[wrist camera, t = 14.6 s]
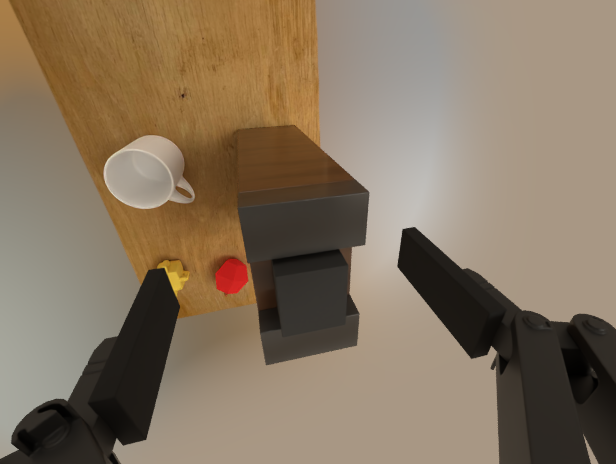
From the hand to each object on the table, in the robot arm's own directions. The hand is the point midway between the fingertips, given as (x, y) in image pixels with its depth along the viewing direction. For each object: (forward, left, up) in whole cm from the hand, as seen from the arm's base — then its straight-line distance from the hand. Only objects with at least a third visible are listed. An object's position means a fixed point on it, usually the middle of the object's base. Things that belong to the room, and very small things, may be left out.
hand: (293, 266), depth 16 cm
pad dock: (+5, +6, -39) cm, 40 cm away
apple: (+27, +10, -39) cm, 49 cm away
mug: (+13, -10, -39) cm, 43 cm away
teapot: (+32, +1, -39) cm, 51 cm away
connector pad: (+5, +6, -9) cm, 12 cm away
